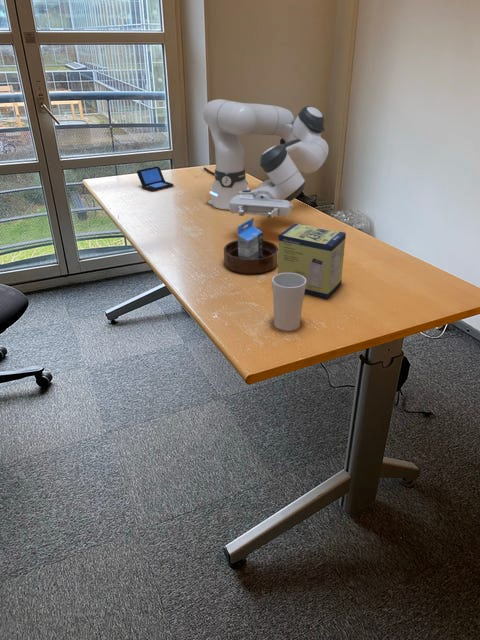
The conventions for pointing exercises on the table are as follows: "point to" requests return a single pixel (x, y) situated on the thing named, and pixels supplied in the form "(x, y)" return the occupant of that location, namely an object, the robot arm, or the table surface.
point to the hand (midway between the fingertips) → (255, 214)
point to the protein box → (313, 257)
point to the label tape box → (250, 241)
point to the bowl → (251, 265)
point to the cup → (288, 300)
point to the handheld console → (152, 179)
